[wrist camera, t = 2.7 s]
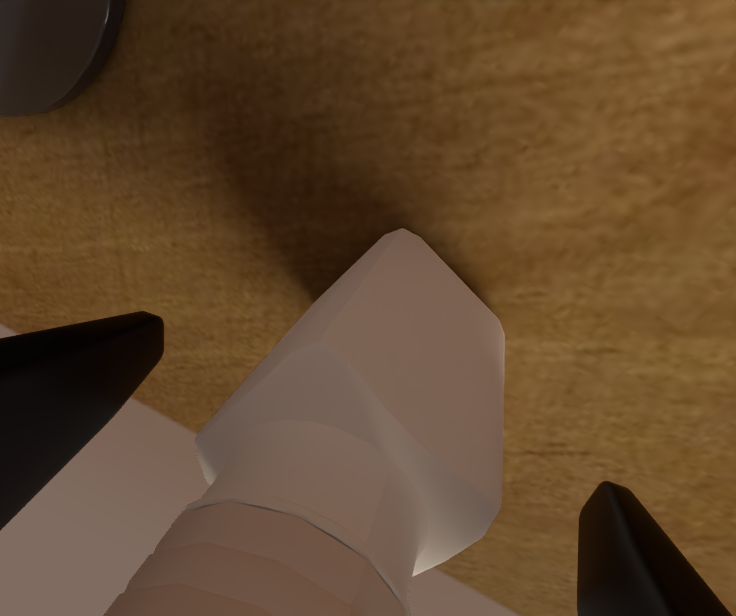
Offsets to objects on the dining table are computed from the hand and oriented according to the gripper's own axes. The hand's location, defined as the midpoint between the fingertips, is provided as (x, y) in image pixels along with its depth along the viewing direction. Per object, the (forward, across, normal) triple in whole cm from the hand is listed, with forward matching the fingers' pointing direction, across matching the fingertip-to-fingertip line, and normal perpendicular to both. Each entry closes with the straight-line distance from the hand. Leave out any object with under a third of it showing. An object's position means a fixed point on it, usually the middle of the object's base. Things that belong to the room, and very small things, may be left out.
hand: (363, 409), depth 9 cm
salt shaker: (+4, 0, 0) cm, 4 cm away
